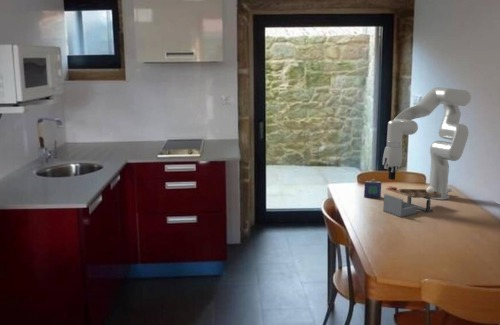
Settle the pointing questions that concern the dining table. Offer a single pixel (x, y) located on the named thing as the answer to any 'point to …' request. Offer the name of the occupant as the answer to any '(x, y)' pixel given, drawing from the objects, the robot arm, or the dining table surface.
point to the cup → (398, 206)
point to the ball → (430, 190)
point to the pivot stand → (420, 206)
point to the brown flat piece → (415, 193)
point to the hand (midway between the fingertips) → (391, 179)
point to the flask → (372, 189)
